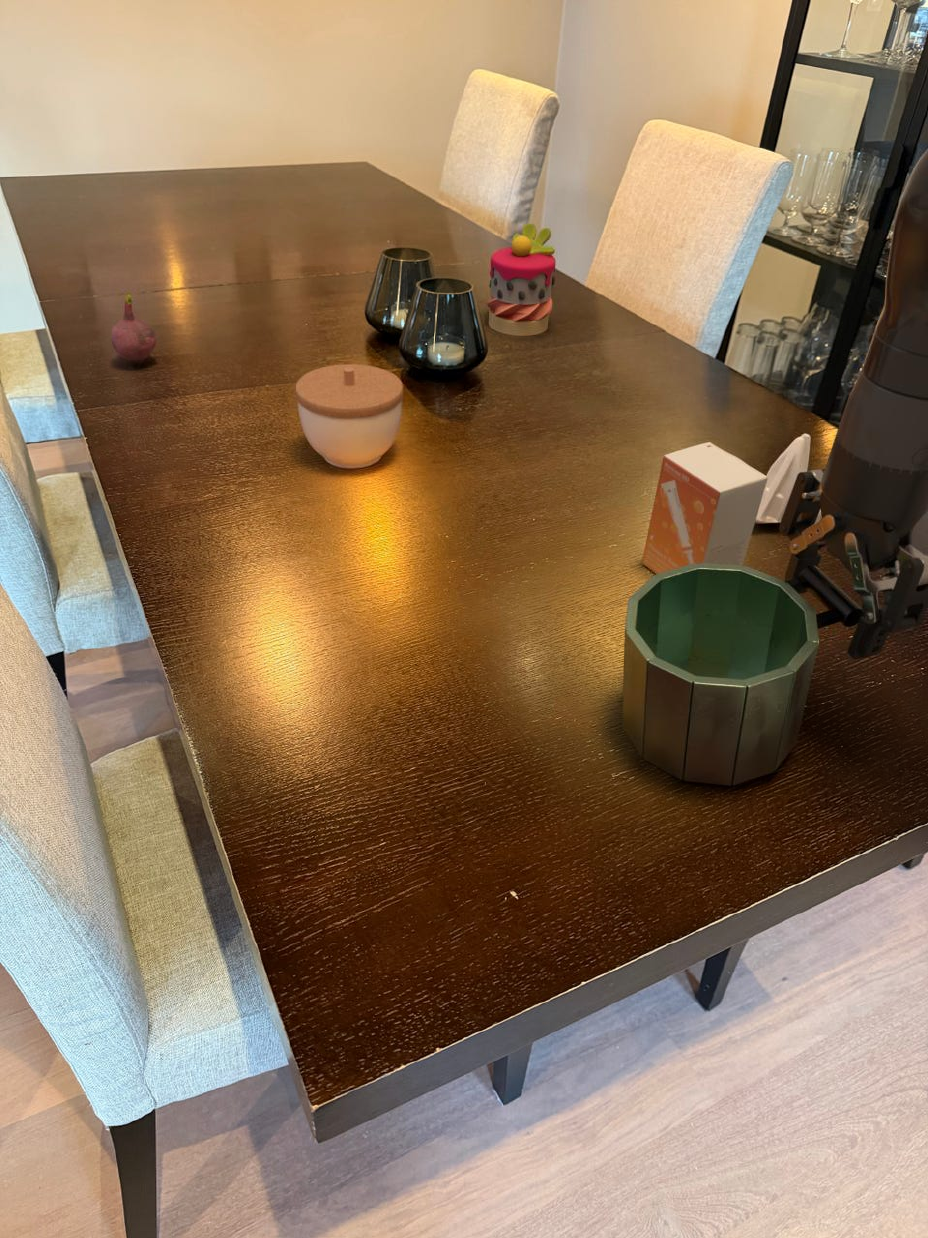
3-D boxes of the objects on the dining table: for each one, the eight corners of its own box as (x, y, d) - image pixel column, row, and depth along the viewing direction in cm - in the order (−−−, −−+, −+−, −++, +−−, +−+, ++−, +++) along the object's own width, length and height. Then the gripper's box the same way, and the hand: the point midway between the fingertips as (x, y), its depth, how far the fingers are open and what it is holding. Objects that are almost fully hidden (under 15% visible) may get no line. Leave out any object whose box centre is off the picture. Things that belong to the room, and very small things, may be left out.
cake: (544, 340, 143) (554, 241, 133) (480, 331, 144) (485, 234, 135) (554, 317, 151) (564, 223, 141) (493, 310, 152) (499, 216, 143)
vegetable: (144, 375, 126) (131, 305, 120) (107, 368, 128) (91, 298, 121) (168, 359, 131) (156, 290, 125) (132, 353, 132) (118, 284, 126)
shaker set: (752, 536, 99) (777, 446, 93) (737, 516, 103) (760, 428, 96) (851, 530, 101) (883, 441, 94) (833, 510, 104) (863, 423, 98)
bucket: (596, 687, 79) (773, 632, 82) (672, 806, 69) (871, 738, 72) (596, 591, 72) (790, 534, 75) (681, 708, 62) (902, 637, 65)
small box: (639, 564, 94) (661, 453, 86) (684, 548, 97) (710, 439, 89) (692, 605, 89) (720, 491, 81) (738, 587, 92) (770, 475, 84)
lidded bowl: (414, 473, 107) (414, 387, 101) (309, 485, 104) (302, 396, 98) (391, 426, 117) (390, 344, 110) (294, 436, 114) (286, 352, 107)
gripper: (1014, 483, 58) (924, 670, 68) (872, 392, 68) (812, 566, 79) (920, 498, 56) (842, 688, 66) (788, 402, 66) (738, 579, 77)
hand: (826, 621), depth 72 cm, fingers open, 8 cm apart
